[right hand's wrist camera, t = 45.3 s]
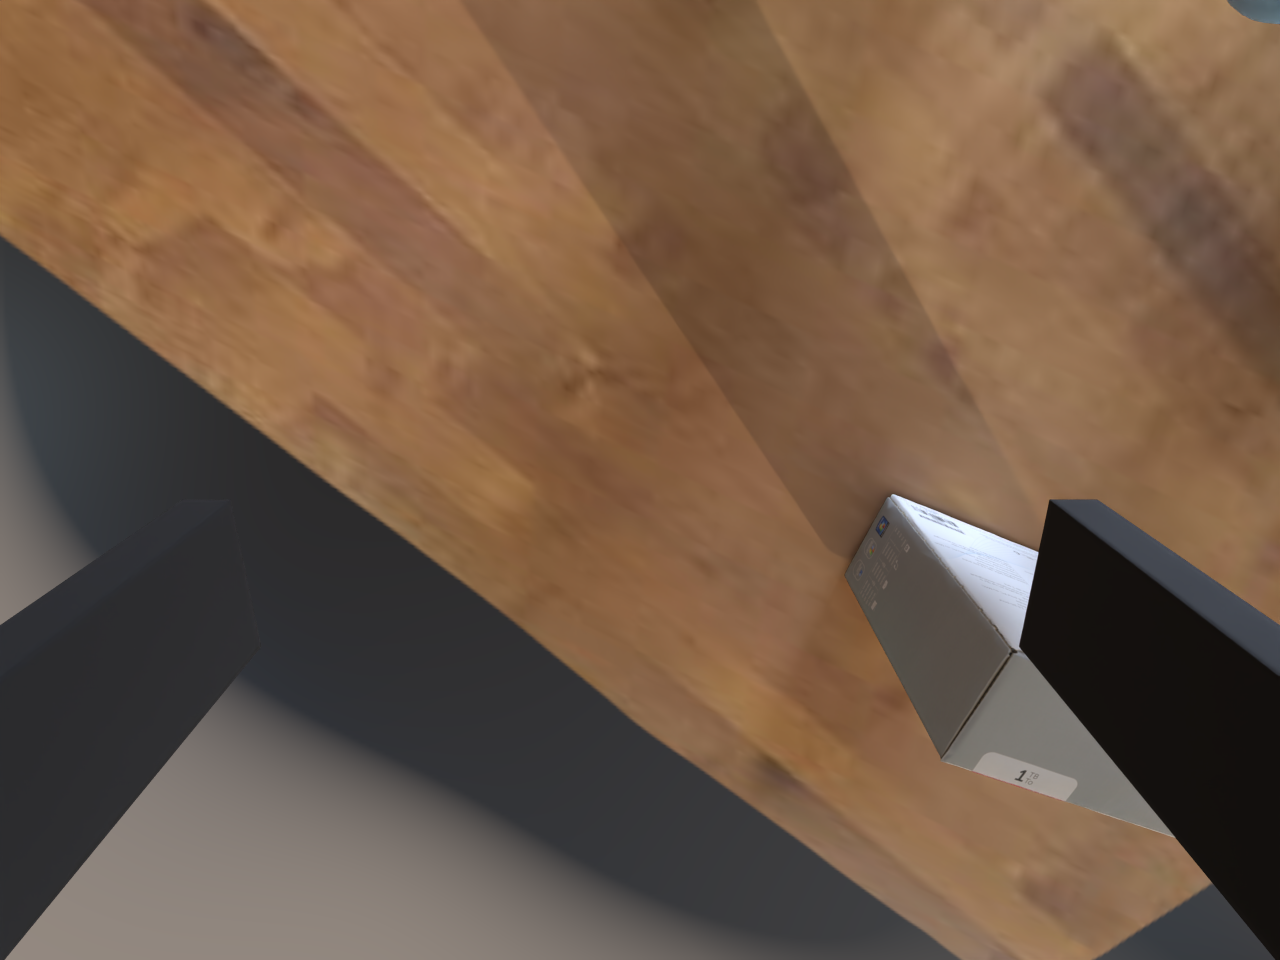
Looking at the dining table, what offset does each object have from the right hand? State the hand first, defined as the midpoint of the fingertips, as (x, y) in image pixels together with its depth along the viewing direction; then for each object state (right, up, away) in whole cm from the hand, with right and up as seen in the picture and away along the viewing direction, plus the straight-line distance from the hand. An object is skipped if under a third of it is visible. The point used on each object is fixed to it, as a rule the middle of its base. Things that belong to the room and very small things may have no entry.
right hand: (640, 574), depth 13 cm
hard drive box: (+24, -5, +46) cm, 52 cm away
